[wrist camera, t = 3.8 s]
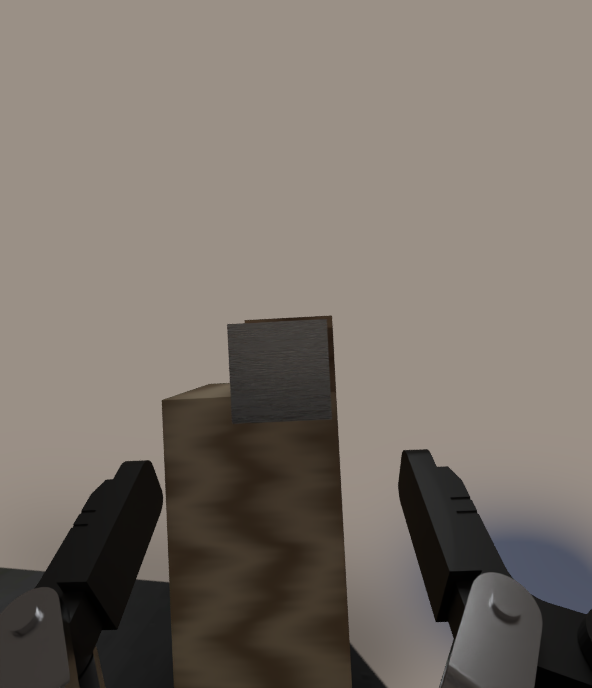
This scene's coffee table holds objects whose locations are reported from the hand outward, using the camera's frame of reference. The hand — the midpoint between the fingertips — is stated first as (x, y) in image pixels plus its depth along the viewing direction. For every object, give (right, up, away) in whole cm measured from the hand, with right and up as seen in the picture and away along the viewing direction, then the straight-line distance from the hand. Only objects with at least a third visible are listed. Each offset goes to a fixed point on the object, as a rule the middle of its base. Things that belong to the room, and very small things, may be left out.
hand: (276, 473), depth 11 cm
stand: (-1, -32, +18) cm, 36 cm away
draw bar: (0, +1, +13) cm, 14 cm away
